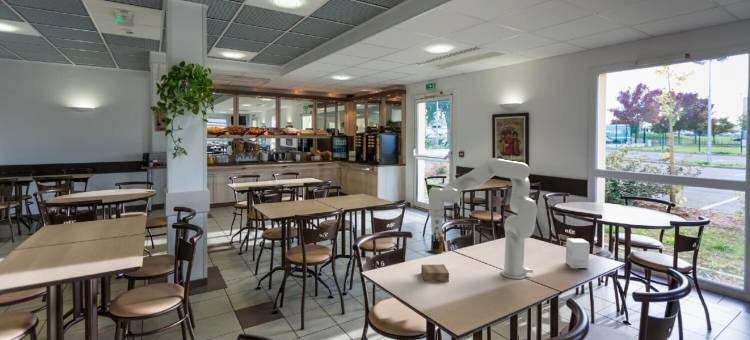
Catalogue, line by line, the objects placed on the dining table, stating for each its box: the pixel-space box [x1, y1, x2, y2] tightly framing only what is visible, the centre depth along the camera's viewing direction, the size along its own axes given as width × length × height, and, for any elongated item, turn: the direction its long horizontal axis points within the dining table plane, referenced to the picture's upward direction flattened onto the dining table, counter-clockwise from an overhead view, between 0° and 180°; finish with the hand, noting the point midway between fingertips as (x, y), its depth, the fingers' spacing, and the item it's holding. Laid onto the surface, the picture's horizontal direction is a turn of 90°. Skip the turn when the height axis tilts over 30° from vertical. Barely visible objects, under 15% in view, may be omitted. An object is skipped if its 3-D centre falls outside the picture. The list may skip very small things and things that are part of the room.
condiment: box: [424, 229, 447, 256], centre depth 192 cm, size 7×8×12 cm
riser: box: [421, 264, 450, 283], centre depth 194 cm, size 12×12×5 cm
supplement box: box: [565, 238, 590, 269], centre depth 212 cm, size 9×9×15 cm
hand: (435, 246), depth 192 cm, fingers closed on condiment, 6 cm apart
